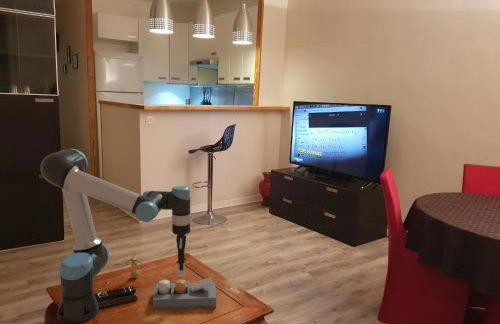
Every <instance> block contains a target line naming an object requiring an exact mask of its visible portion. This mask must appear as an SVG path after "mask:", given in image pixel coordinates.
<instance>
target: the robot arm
mask: <svg viewBox="0 0 500 324" xmlns="http://www.w3.org/2000/svg"><path fill="white" fill-rule="evenodd" d="M88 165H89V163H88V159H87V157H86V155H85V154H84V153H83V151H81V150H79V149H77V148H76V149H75V148H67V149H66V148H65V149H62V150H59V151H57V152H52V153H51V154H50V153H49V154H48V155H47V156H45V157H44V158H43V159H42V161H41V163H40V168H39V169H40V173H41V175H42V177H43V178H44V180H45V181H47V182H48V183H49V184H51V185H53V186H56V187H58V188H60V189H61V190H62V191H61V192H62V193H63V194H62V195H63V199H64V203H65V206H66V210H67V215H68V219H69V222H70V226H71V230H72V235H73V239H74V244H73V246H72V252H73V253H72V254H69V255H67V256H65V257H64V258H63V259H62V260H61V262H60V268H59V274H60V291H61V292H60V293H61V299H60V302H59V305H58V308H57V314H56V315H57V320H58V321H59V322H61V323H63V324H81V323H85V322H89V321H90V320H92V319H93V318H94V317H95V316H97V315H98V313H99V303H98V301H97V298H96V295H95V292H94V279H95V277H97V276H98V274H99V273H100V272H101V271H102V270H103V269H104V268H105V266H106V265H107V263H108V261H109V258H110V252H109V248H107V246H106V245H104V243H103V242H102V239H101V238H99V237H97V236H98V235H97V233H96V229H95V224H94V220H93V219H94V218H93V216H92V211H91V207H90V203H89V199H88V197H91V198H93V199H96V200H98V201H101V202H104V203H106V204H108V205H110V206H112V207H116V208H119V209H121V210H123V211H126V212H129V213H131V214H134V215H135V216H136V218H137V219H138V220H139V221H140V222H143V223H149V222H151V221H153V220H154V219H155V218H157V216H158V215H159V213H160V212H161V210H163V211H164V210H171V223H172V224H171V232H172V233H173V234H174V235H176V239H175V240H176V248H177V261H176V264H177V277H178V278H181V277H182V278H183V277H186V272H185V269H186V268H185V267H186V266H185V265H186V264H185V262H186V261H187V257H185V256H186V255H185V249H186V242H187V235H188V234H189V233H191V218H193V216H192V215H191V199H192V198H191V189H190V188H189V187H188V186H185V185H178V186H177V185H176V186H174V187H172V188H171V191H165V190H163V191H162V190H161V191H160V190H159V191H158V190H146V191H143V193H142V194H140V193H137V192H135V191H131V190H130V189H127V188H124V187H122V186H120V185H117V184H114V183H111V182H109V181H106V180H104V179H103V178H100V177H96V176H94V175H92V174H89V173H86V170H87V169H88Z"/></svg>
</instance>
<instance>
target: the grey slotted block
mask: <svg viewBox="0 0 500 324" xmlns="http://www.w3.org/2000/svg"><path fill="white" fill-rule="evenodd" d="M191 283H192V282H186V293H184V294H177V293H175V282H170V292H169V293H168V294H163V295H161V294H159V282H158V283H156V285H155V288H154V293H153V297H152V310H153V311H154V310H184V309H185V310H186V309H190V310H191V309H213V308H214V309H215V308H217V292H216V291H217V290H216V282H215V281H212V286H209V287H206V288H203V290H201V289H200V290H197V291H194V292H191Z"/></svg>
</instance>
